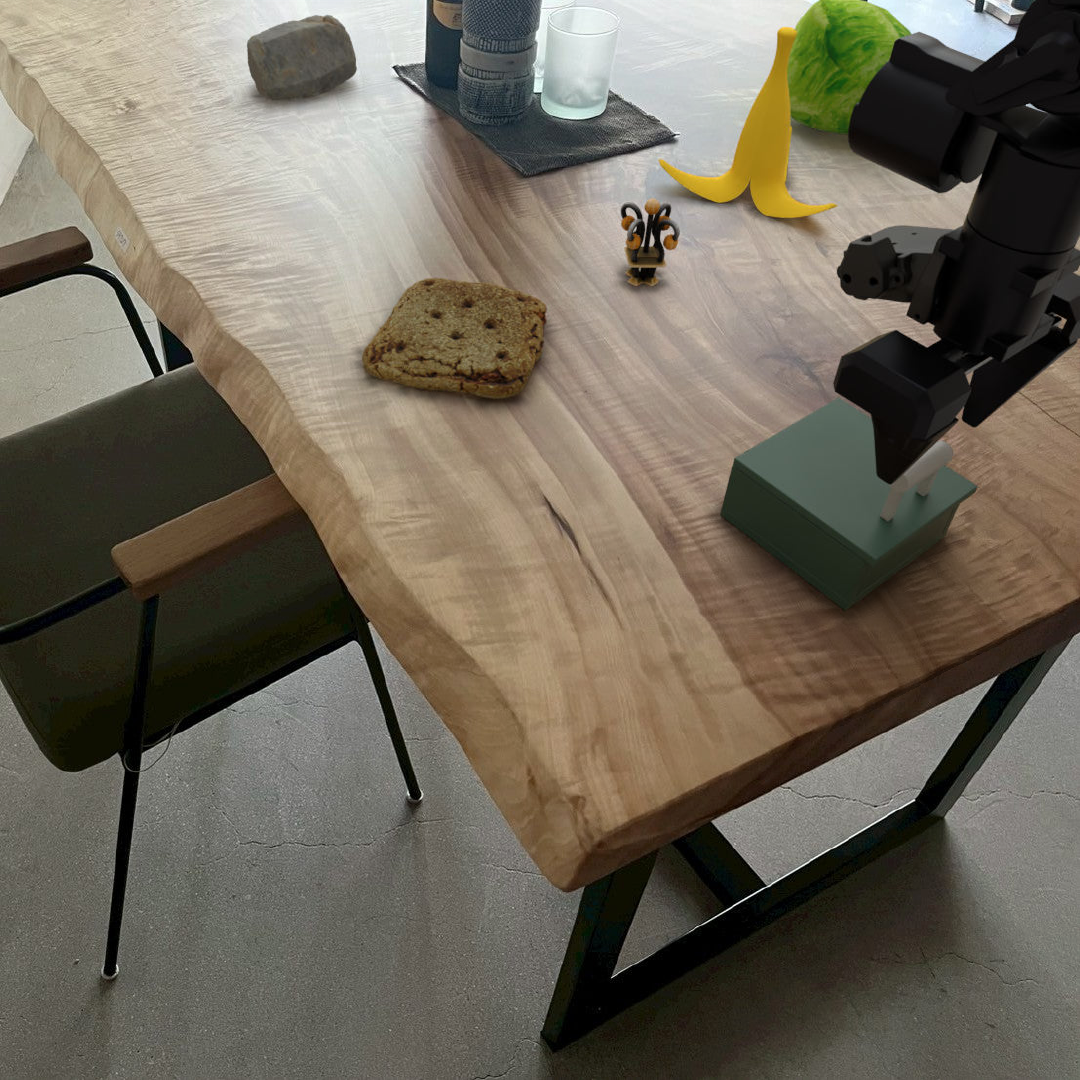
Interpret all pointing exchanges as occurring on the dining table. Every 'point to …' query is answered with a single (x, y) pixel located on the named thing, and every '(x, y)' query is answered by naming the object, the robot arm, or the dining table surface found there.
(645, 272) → the figurine
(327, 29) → the stone
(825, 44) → the lettuce
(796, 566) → the chest
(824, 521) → the lid
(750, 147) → the banana peel
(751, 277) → the dining table surface
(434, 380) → the pastry
